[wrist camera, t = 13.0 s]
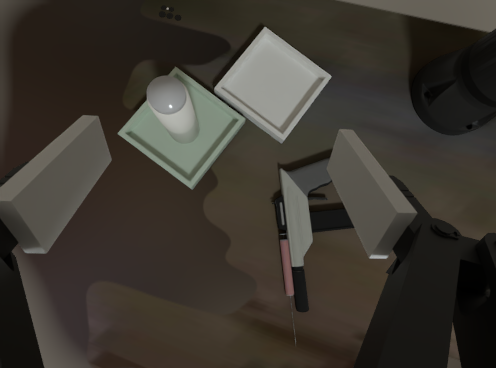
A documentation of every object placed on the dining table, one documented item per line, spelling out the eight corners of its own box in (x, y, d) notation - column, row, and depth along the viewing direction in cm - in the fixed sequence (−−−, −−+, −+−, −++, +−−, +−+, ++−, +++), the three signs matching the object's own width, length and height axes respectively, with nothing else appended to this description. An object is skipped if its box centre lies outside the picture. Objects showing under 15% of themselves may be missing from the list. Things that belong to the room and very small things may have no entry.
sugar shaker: (181, 108, 44) (162, 65, 31) (205, 126, 44) (196, 90, 31) (162, 131, 44) (135, 96, 31) (187, 149, 43) (169, 122, 31)
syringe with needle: (379, 337, 42) (290, 351, 40) (371, 330, 44) (286, 343, 42) (352, 150, 45) (268, 157, 43) (346, 153, 47) (266, 160, 46)
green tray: (177, 73, 46) (175, 66, 44) (244, 123, 45) (245, 118, 43) (122, 137, 43) (117, 133, 42) (192, 189, 43) (190, 188, 41)
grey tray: (263, 34, 48) (265, 26, 46) (327, 82, 48) (331, 76, 46) (214, 93, 46) (214, 88, 44) (281, 143, 46) (283, 140, 44)
